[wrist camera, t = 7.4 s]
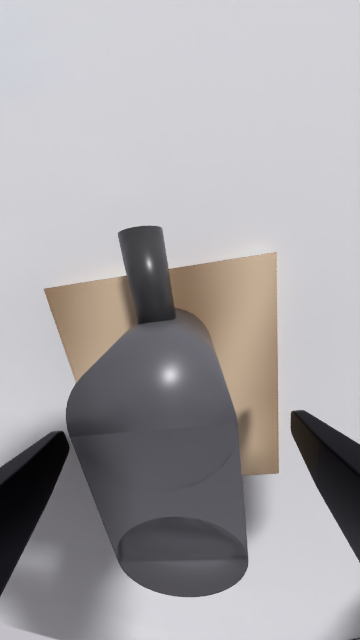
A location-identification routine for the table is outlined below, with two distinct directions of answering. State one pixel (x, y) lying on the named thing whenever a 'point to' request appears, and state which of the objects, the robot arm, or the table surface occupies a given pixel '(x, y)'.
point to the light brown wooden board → (222, 323)
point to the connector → (162, 440)
